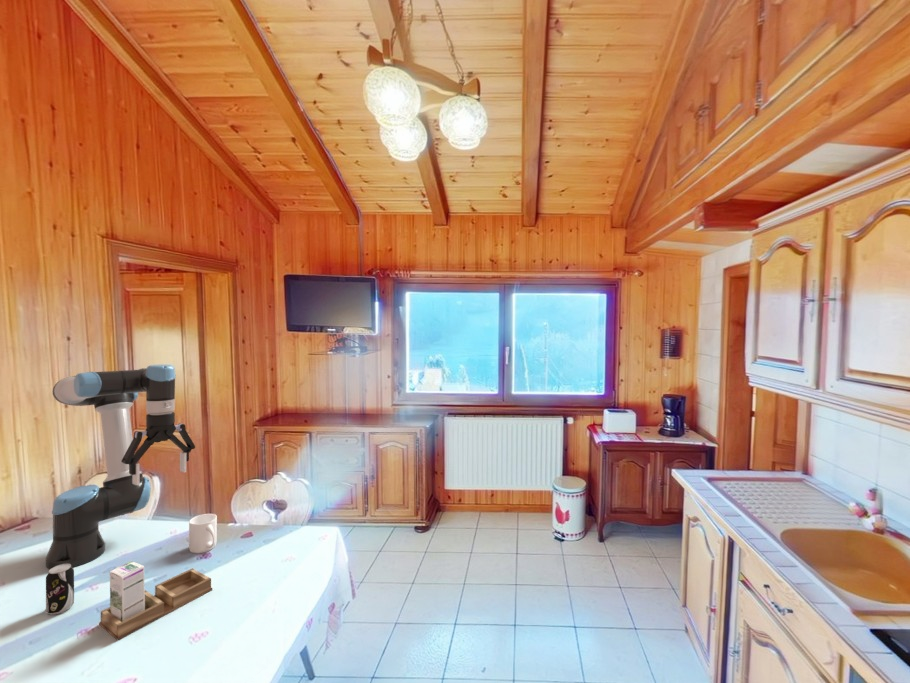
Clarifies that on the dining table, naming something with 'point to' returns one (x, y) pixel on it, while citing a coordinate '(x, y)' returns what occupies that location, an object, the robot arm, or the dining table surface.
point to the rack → (159, 602)
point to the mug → (202, 533)
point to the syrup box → (127, 591)
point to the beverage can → (59, 589)
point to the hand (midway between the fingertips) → (160, 477)
